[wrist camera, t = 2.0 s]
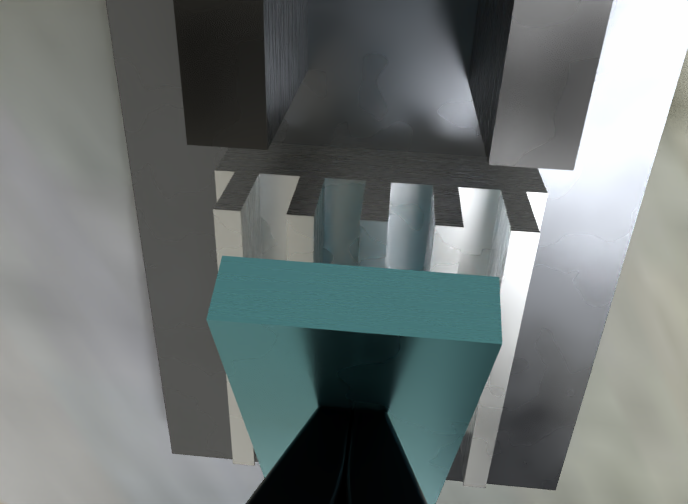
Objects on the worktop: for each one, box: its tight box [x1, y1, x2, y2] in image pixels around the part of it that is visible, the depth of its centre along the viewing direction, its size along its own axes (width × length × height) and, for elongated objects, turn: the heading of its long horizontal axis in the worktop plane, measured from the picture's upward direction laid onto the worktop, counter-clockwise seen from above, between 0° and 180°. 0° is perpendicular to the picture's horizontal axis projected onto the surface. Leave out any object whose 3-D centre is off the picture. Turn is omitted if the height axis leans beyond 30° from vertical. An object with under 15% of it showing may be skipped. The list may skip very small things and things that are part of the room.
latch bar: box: [206, 256, 502, 504], centre depth 13 cm, size 16×3×1 cm, turn 178°
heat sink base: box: [106, 0, 688, 490], centre depth 18 cm, size 18×14×7 cm
